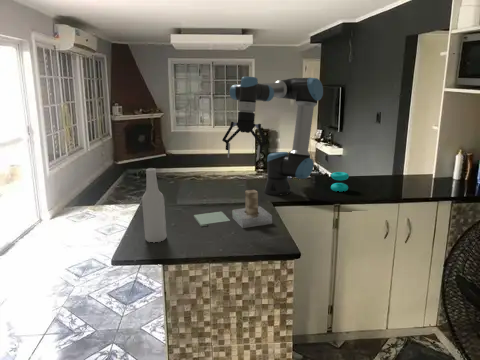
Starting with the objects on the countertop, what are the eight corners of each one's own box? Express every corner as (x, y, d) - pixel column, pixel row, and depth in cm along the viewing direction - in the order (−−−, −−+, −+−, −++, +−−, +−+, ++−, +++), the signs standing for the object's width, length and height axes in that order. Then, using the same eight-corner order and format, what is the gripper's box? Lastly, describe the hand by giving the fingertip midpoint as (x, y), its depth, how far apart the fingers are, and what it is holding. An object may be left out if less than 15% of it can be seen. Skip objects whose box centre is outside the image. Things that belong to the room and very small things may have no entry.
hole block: (260, 216, 194) (260, 206, 193) (272, 225, 181) (272, 215, 180) (232, 219, 189) (232, 209, 188) (242, 230, 177) (242, 219, 175)
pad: (221, 213, 199) (221, 211, 199) (230, 222, 186) (230, 220, 186) (193, 217, 194) (193, 215, 194) (200, 226, 182) (200, 224, 181)
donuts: (329, 171, 238) (346, 171, 238) (329, 187, 241) (345, 187, 241) (333, 175, 229) (350, 175, 228) (332, 192, 231) (350, 192, 231)
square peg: (254, 218, 188) (254, 189, 184) (258, 221, 184) (257, 192, 180) (245, 219, 186) (245, 190, 183) (249, 222, 182) (248, 193, 179)
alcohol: (168, 234, 173) (163, 166, 166) (165, 242, 164) (160, 171, 157) (147, 235, 173) (141, 166, 165) (143, 243, 164) (137, 171, 157)
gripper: (219, 109, 178) (215, 157, 181) (275, 113, 179) (270, 161, 182) (219, 110, 186) (216, 155, 189) (273, 114, 187) (269, 159, 190)
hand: (243, 158), depth 186 cm, fingers open, 13 cm apart
